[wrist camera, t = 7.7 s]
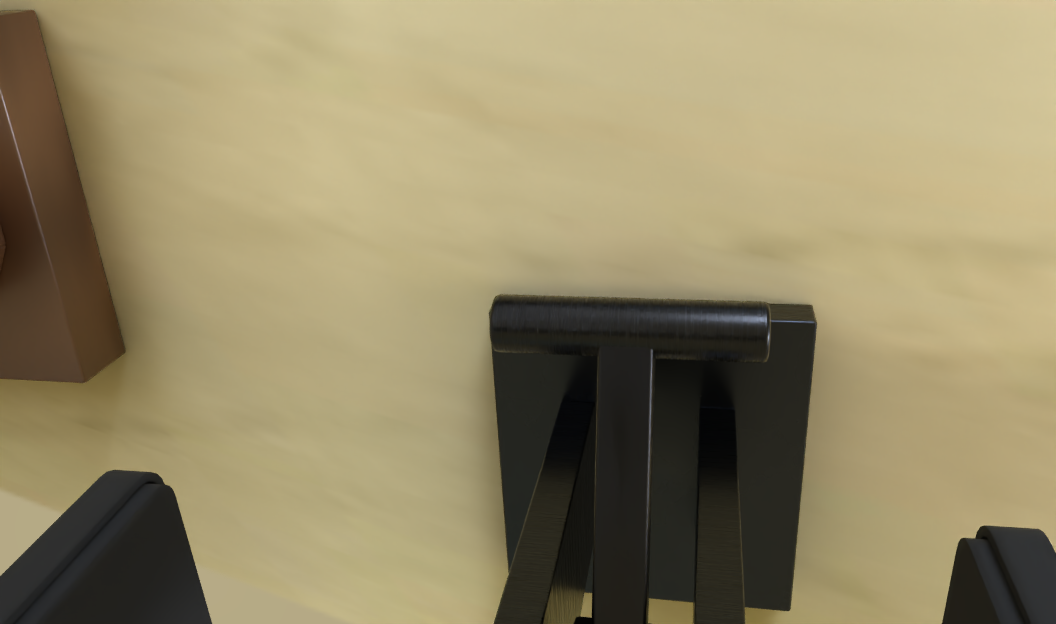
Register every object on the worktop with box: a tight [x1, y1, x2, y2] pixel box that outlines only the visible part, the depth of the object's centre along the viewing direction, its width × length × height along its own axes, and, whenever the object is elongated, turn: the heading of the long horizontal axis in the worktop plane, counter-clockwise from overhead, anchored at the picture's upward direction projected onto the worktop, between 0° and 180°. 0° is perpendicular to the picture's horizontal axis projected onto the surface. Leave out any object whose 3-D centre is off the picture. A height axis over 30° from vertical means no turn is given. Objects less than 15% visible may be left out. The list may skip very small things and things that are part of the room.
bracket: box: [489, 304, 817, 624], centre depth 22 cm, size 10×9×12 cm
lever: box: [490, 294, 771, 624], centre depth 18 cm, size 10×6×2 cm, turn 2°
